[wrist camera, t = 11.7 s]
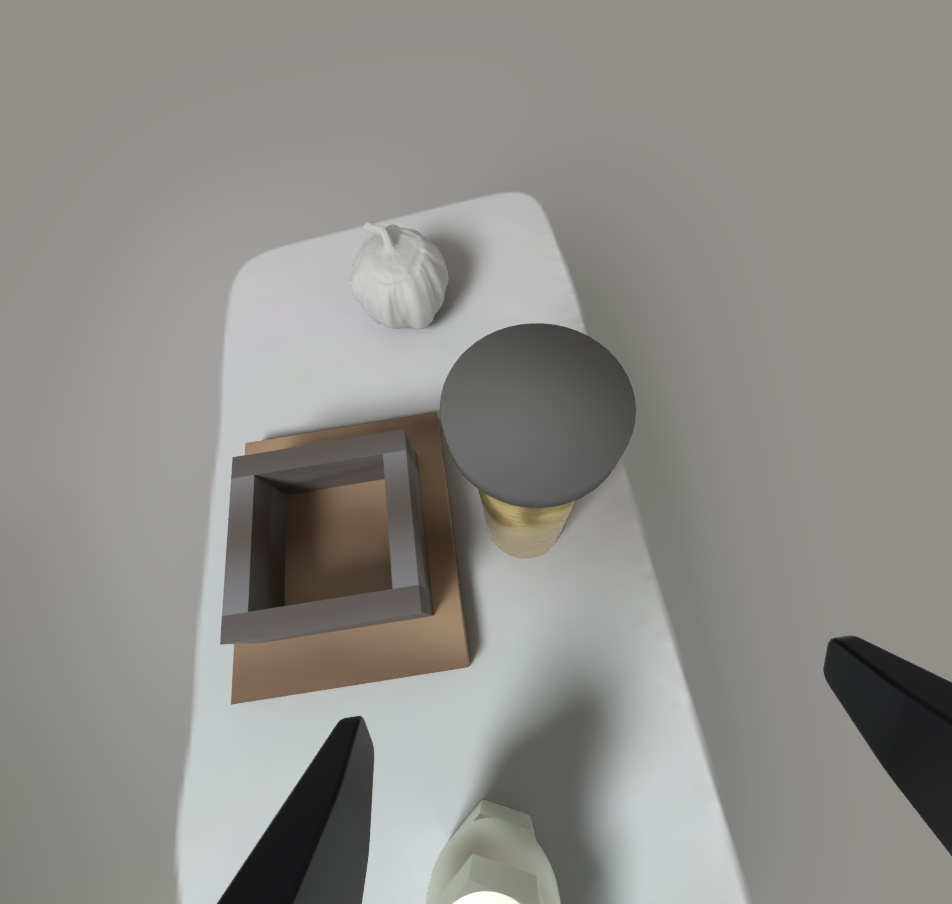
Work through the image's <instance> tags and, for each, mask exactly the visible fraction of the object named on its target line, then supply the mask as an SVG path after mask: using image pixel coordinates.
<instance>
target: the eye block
mask: <svg viewBox="0 0 952 904" xmlns="http://www.w3.org/2000/svg"><path fill="white" fill-rule="evenodd" d="M220 644H234V661H233V679H232V697H231V704H237V703H243V702H250V701H256V700H263V699H269V698H275V697H282V696H288V695H294V694H301V693H307V692H313V691H320V690H326V689H332V688H339V687H345V686H352V685H358V684H364V683H371V682H377V681H383V680H390V679H396V678H402V677H409V676H415V675H421V674H428V673H434V672H440V671H447V670H453V669H460V668H466V667H469V666H470V659H469V651H468V643H467V635H466V627H465V619H464V612H463V604H462V596H461V588H460V580H459V572H458V565H457V557H456V549H455V541H454V533H453V525H452V518H451V510H450V502H449V494H448V486H447V478H446V471H445V463H444V455H443V447H442V439H441V431H440V424H439V419H438V416H437V413H436V412H433V413H426V414H420V415H414V416H408V417H402V418H396V419H390V420H384V421H378V422H372V423H366V424H359V425H353V426H347V427H341V428H335V429H329V430H323V431H317V432H311V433H305V434H298V435H292V436H286V437H280V438H274V439H268V440H262V441H256V442H250V443H246V445H245V455H244V456H238V457H233V461H232V476H231V491H230V506H229V521H228V536H227V551H226V566H225V581H224V596H223V611H222V626H221V641H220Z"/></svg>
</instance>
